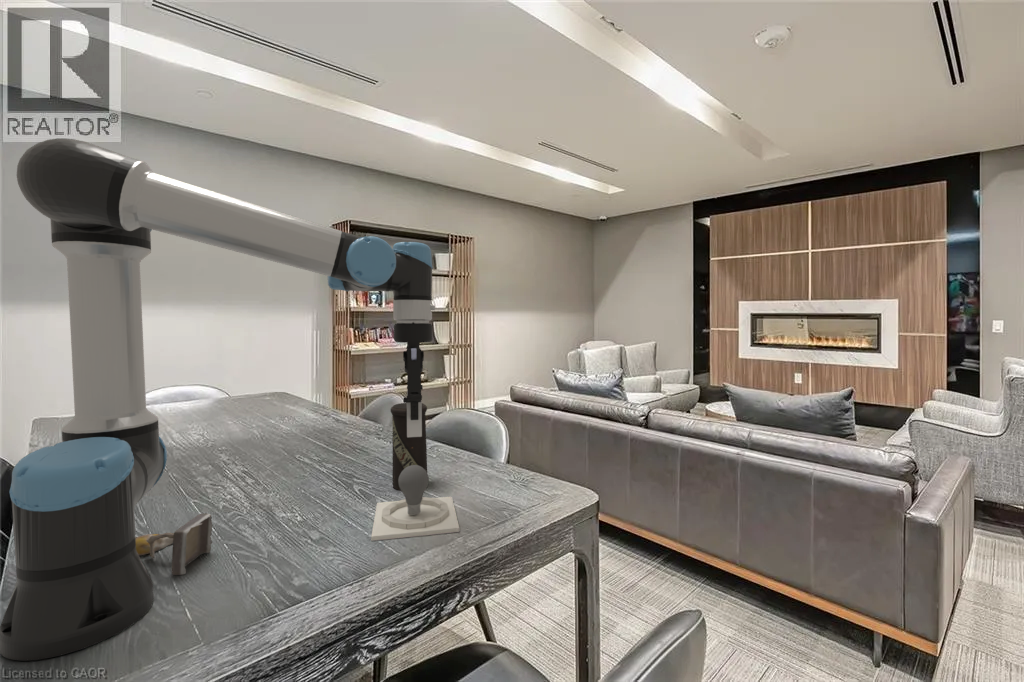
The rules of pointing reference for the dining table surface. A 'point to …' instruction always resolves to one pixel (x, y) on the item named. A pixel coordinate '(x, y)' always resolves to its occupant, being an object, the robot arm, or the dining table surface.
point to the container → (406, 443)
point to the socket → (414, 519)
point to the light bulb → (413, 486)
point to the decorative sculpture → (180, 542)
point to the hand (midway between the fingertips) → (414, 428)
